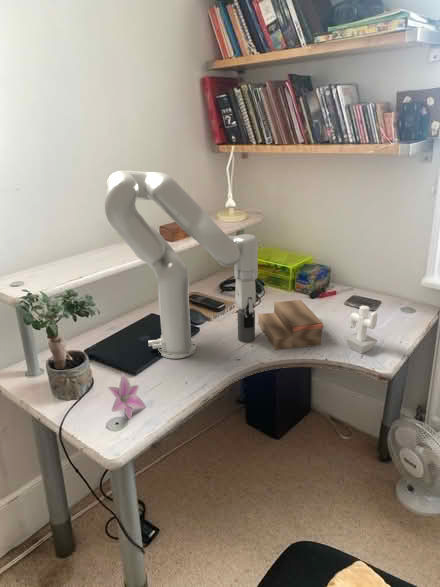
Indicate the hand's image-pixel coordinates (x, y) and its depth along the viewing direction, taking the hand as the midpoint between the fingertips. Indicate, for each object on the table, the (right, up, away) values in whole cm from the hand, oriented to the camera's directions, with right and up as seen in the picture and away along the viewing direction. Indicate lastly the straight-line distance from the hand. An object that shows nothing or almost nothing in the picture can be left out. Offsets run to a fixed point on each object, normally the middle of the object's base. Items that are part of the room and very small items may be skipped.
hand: (246, 322), depth 155 cm
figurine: (+37, -8, -7) cm, 38 cm away
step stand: (+15, -4, +5) cm, 16 cm away
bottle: (0, -6, +2) cm, 6 cm away
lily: (-34, -21, -34) cm, 52 cm away
